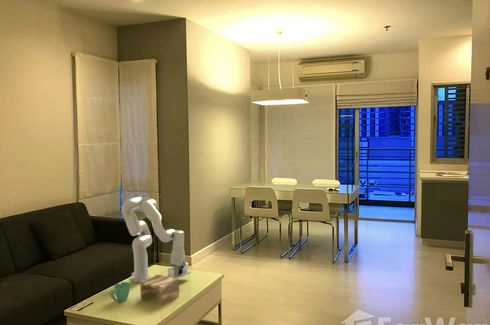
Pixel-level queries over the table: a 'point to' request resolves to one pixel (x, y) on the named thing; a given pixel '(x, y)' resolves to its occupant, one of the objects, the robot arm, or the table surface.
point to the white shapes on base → (175, 271)
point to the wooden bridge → (166, 286)
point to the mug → (120, 291)
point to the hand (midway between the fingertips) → (177, 273)
